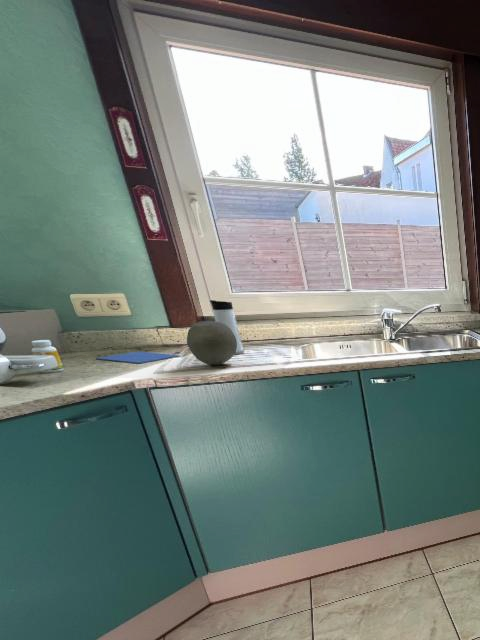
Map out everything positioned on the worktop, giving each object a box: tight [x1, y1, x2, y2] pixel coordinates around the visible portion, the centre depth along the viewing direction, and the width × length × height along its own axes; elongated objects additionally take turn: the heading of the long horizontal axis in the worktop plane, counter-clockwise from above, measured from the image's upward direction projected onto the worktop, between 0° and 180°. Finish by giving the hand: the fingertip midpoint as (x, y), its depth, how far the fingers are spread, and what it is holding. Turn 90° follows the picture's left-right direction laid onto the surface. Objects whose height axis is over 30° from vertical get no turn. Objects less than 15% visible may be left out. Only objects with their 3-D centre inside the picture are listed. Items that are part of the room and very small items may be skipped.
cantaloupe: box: [186, 320, 237, 366], centre depth 168 cm, size 14×14×15 cm
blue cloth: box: [96, 351, 181, 365], centre depth 177 cm, size 20×14×1 cm
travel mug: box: [209, 299, 244, 356], centre depth 185 cm, size 6×7×20 cm
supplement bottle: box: [31, 339, 64, 374], centre depth 155 cm, size 5×5×10 cm
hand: (30, 358), depth 149 cm, fingers open, 8 cm apart
